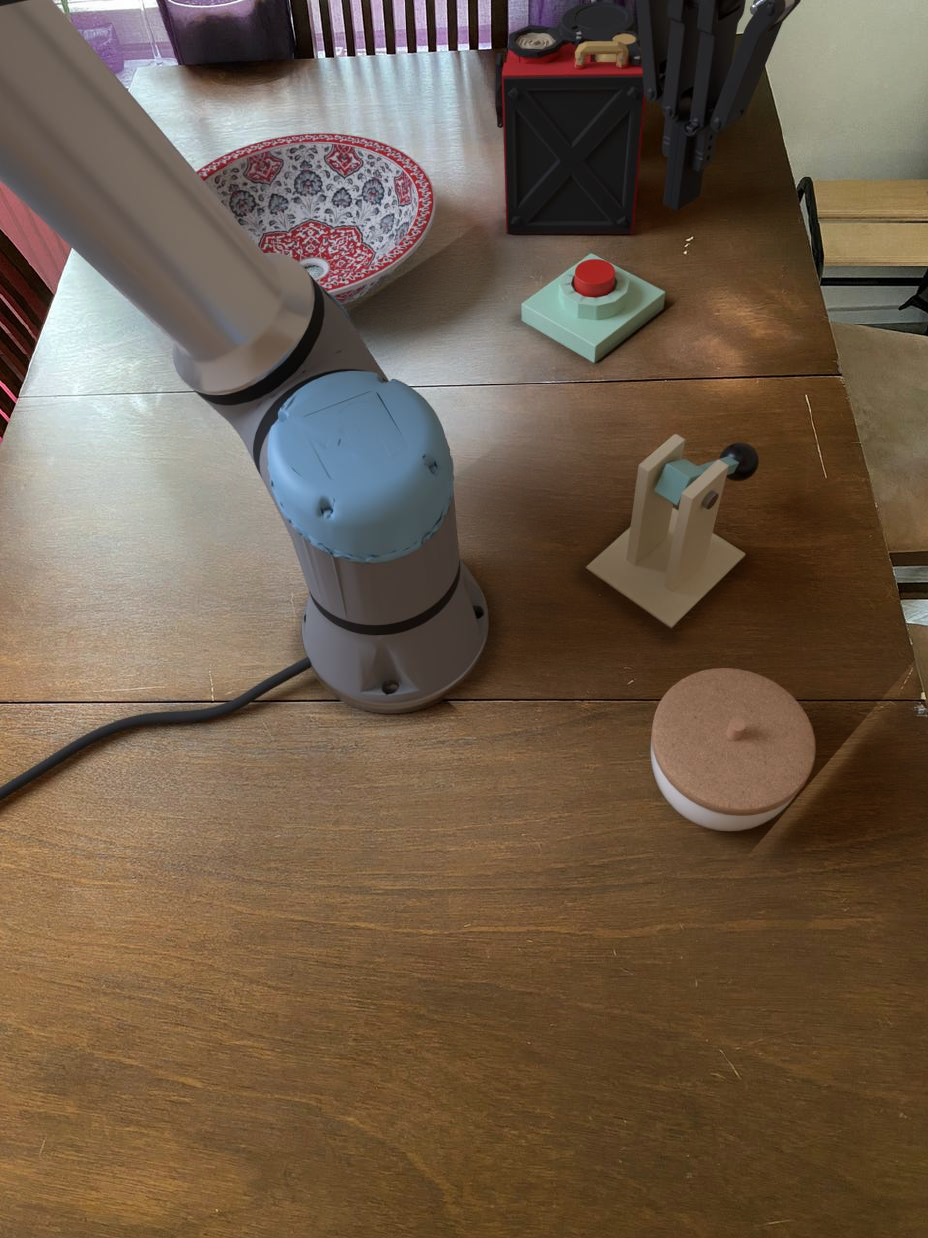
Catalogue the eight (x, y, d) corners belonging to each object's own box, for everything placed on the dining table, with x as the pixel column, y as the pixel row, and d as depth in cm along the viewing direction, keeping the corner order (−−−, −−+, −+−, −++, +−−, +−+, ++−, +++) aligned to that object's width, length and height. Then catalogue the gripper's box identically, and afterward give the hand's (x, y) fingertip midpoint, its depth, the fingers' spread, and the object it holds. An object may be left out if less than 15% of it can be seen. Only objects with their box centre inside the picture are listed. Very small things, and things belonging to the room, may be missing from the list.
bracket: (659, 508, 86) (677, 401, 75) (743, 562, 82) (774, 457, 72) (585, 574, 82) (592, 472, 72) (669, 635, 79) (691, 536, 68)
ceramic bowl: (131, 276, 109) (105, 212, 103) (335, 168, 119) (324, 103, 112) (280, 405, 96) (262, 341, 90) (496, 272, 106) (494, 205, 99)
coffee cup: (543, 167, 116) (544, 36, 104) (561, 125, 121) (565, -6, 109) (620, 176, 114) (631, 43, 102) (636, 133, 119) (648, 1, 107)
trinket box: (691, 694, 75) (710, 628, 68) (817, 771, 71) (852, 710, 63) (613, 795, 71) (623, 737, 63) (742, 883, 67) (769, 833, 59)
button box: (594, 363, 97) (596, 331, 94) (521, 320, 101) (520, 288, 98) (663, 309, 101) (668, 276, 98) (590, 269, 105) (592, 237, 102)
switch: (723, 466, 83) (739, 432, 81) (754, 484, 82) (771, 451, 80) (646, 492, 74) (663, 455, 72) (679, 513, 72) (697, 476, 71)
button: (596, 303, 96) (597, 289, 95) (566, 287, 98) (566, 272, 97) (622, 284, 98) (623, 269, 96) (591, 268, 100) (592, 253, 98)
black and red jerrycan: (636, 185, 113) (654, -1, 97) (636, 238, 108) (655, 50, 91) (502, 185, 115) (497, 2, 98) (495, 237, 109) (489, 52, 93)
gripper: (861, -161, 55) (778, 210, 75) (684, -208, 61) (650, 148, 81) (779, -116, 53) (716, 256, 73) (603, -169, 59) (588, 188, 78)
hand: (681, 199), depth 77 cm, fingers closed
